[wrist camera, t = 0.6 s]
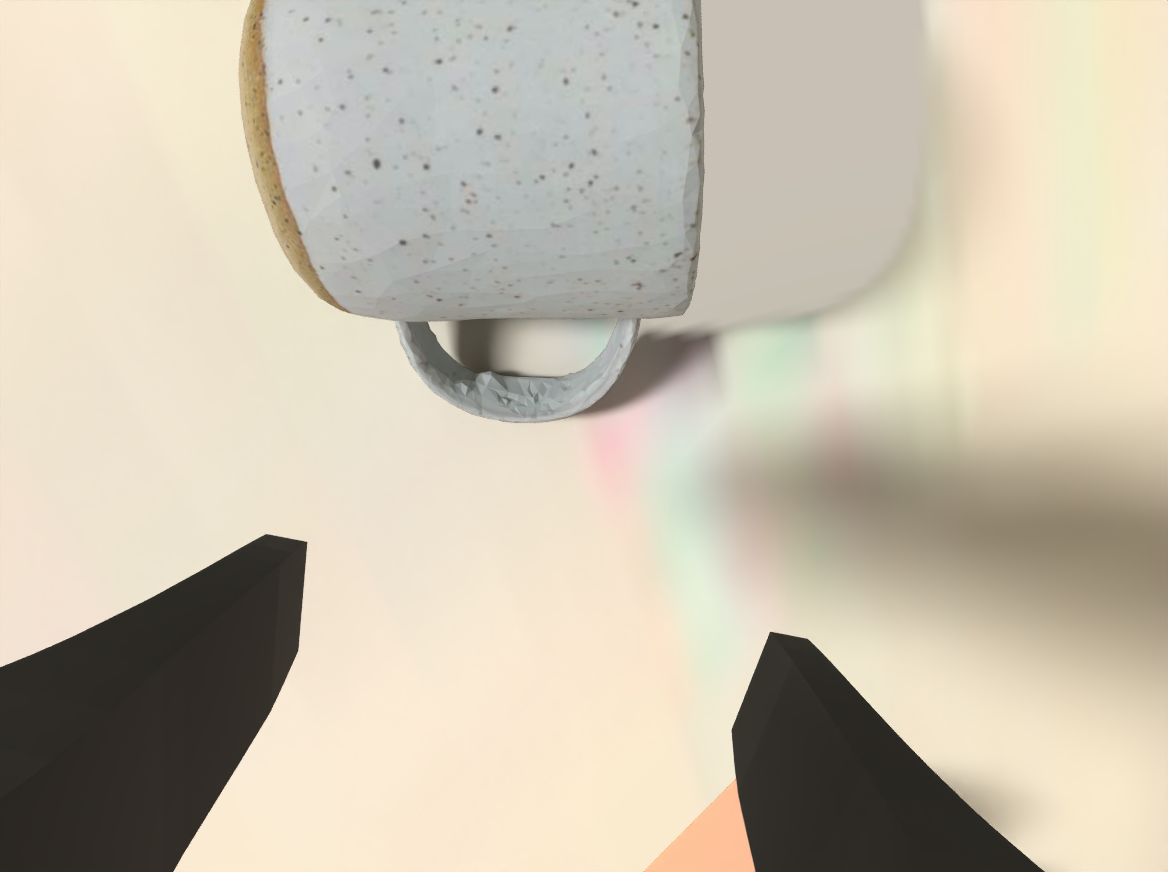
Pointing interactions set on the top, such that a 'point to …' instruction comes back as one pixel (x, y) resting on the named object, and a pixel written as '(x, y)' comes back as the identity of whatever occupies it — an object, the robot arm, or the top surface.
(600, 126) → the ceramic mug
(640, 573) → the top surface
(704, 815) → the peach brick
